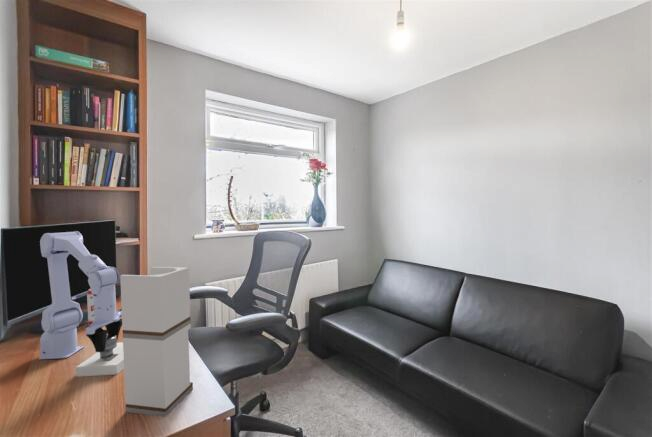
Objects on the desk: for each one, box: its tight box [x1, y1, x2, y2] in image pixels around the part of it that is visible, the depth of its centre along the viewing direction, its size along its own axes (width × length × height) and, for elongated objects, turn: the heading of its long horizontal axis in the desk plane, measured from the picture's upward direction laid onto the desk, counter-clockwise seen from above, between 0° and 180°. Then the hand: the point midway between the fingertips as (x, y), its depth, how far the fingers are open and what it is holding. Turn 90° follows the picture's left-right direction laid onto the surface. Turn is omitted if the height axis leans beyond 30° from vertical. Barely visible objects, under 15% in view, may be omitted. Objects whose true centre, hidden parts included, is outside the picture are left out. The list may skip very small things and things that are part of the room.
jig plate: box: [75, 341, 124, 378], centre depth 96 cm, size 12×16×3 cm
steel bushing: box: [94, 334, 118, 359], centre depth 93 cm, size 6×6×6 cm
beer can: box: [86, 288, 94, 326], centre depth 130 cm, size 6×6×16 cm
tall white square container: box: [119, 266, 194, 418], centre depth 76 cm, size 11×11×35 cm
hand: (106, 346), depth 93 cm, fingers closed on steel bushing, 6 cm apart
